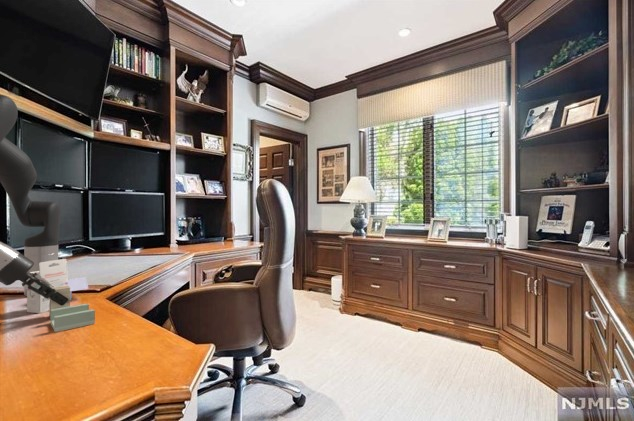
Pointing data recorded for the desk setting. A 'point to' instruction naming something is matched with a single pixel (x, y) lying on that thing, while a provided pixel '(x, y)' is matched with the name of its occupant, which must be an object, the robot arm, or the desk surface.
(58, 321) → the sage green grooved bar
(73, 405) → the desk surface
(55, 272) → the ink cartridge box
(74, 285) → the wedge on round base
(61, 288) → the birch block
